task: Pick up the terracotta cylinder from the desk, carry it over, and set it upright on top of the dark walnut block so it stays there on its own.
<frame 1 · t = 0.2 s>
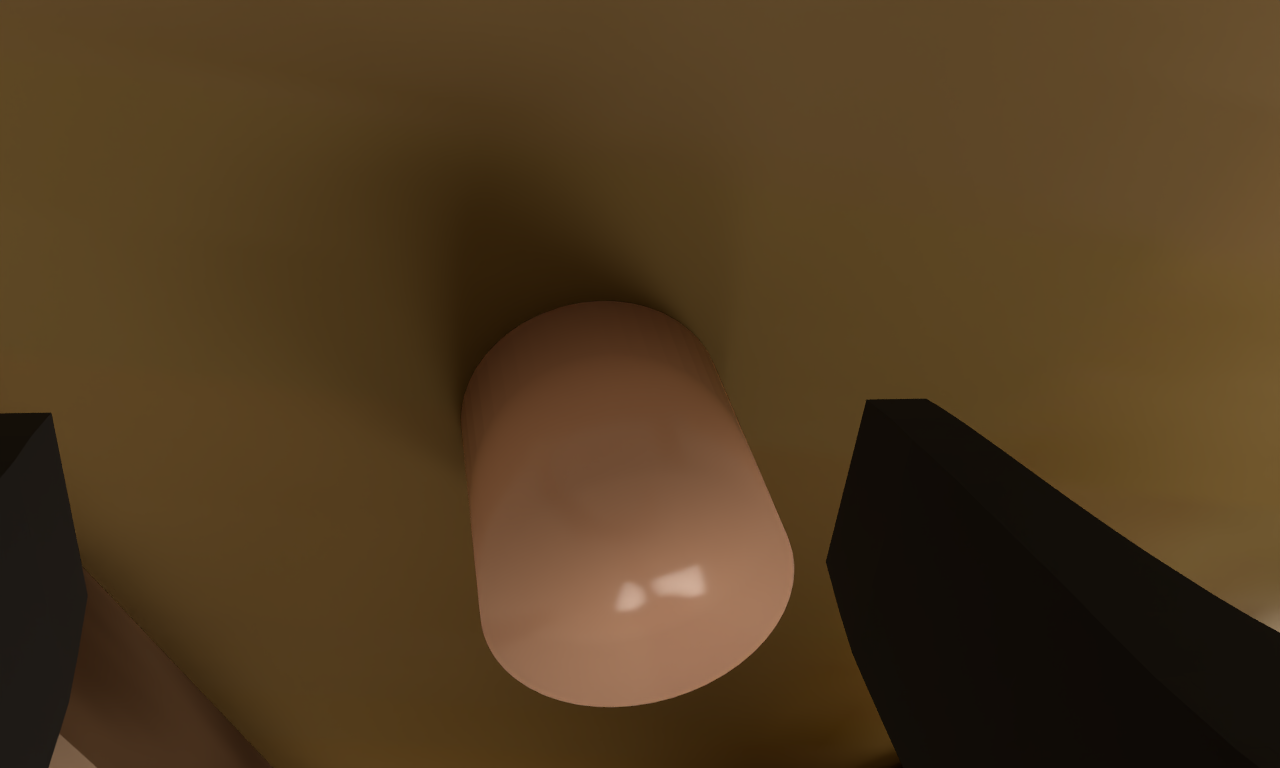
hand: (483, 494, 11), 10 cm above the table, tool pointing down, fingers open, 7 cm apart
terracotta cylinder: (592, 413, 23), on the table
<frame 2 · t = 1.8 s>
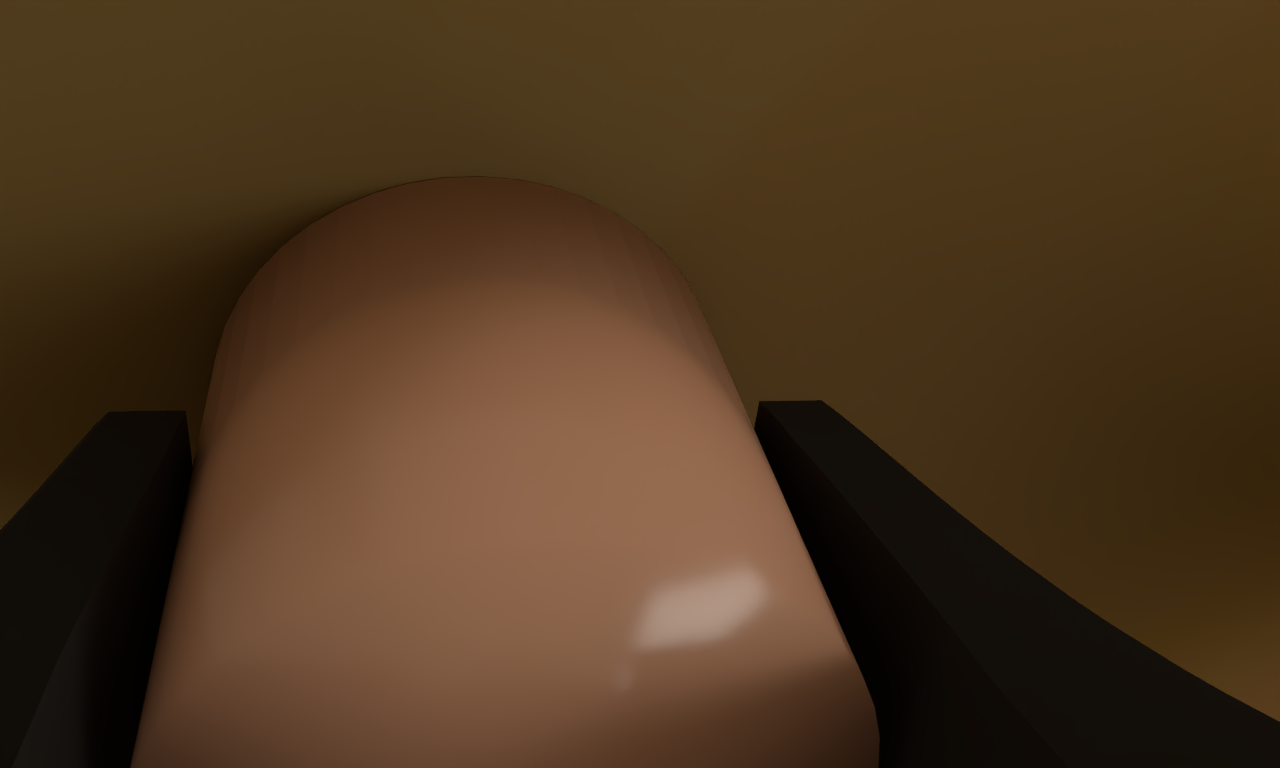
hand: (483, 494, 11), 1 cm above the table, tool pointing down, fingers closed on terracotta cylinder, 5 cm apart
terracotta cylinder: (473, 405, 12), on the table, touching gripper
when the fingers open (7 cm above the table, at t = 5.5 s): terracotta cylinder drops 2 cm, resting on walnut block.
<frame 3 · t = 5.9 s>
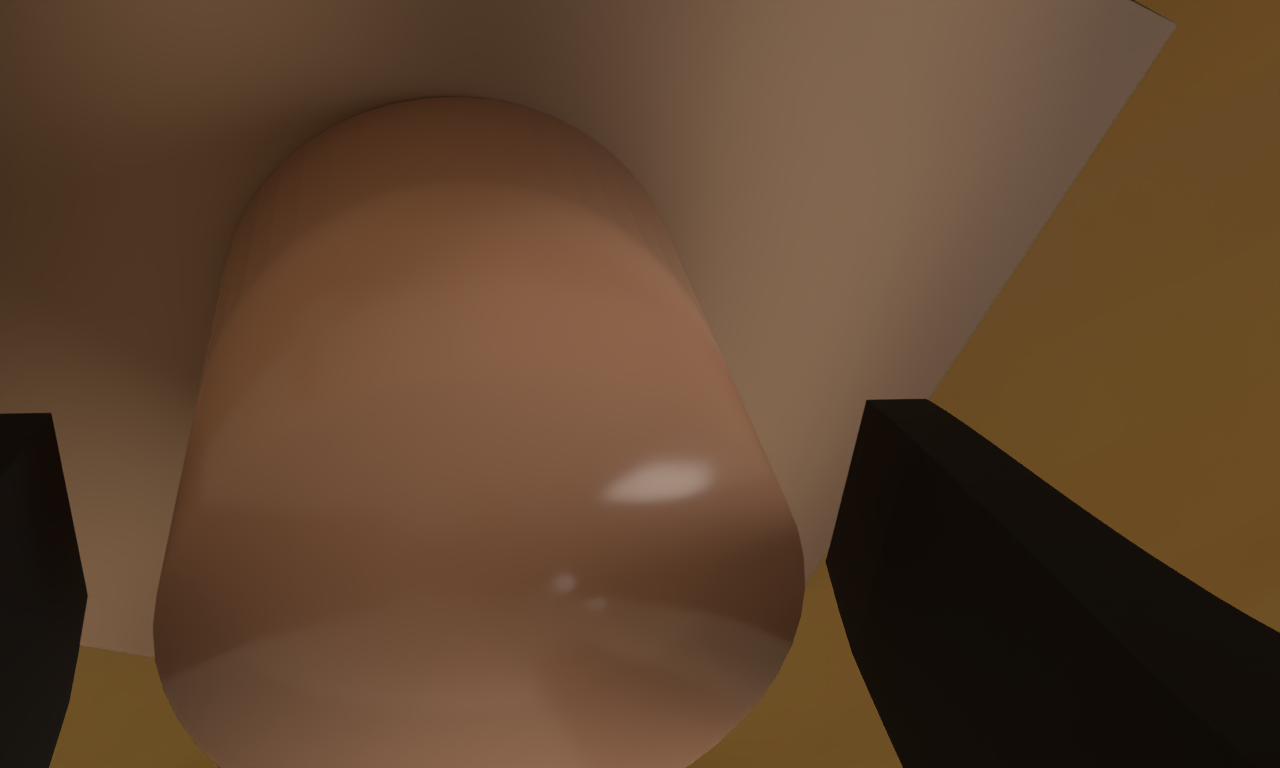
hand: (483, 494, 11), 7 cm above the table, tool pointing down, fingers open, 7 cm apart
walnut block: (447, 175, 17), on the table, touching terracotta cylinder
terracotta cylinder: (457, 311, 13), point 3 cm above the table, touching walnut block
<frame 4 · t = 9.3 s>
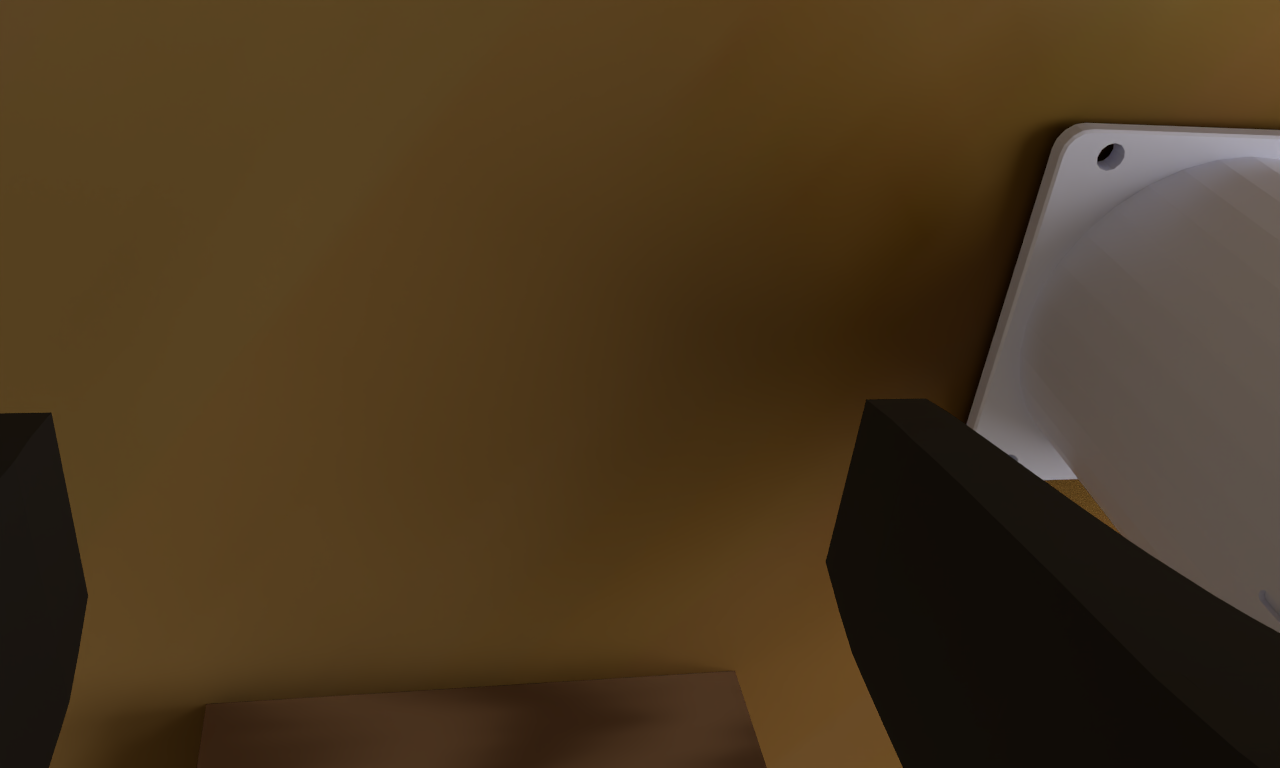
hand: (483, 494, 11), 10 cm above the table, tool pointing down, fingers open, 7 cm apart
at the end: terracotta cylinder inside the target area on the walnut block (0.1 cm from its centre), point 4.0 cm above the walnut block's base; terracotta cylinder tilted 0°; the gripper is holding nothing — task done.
